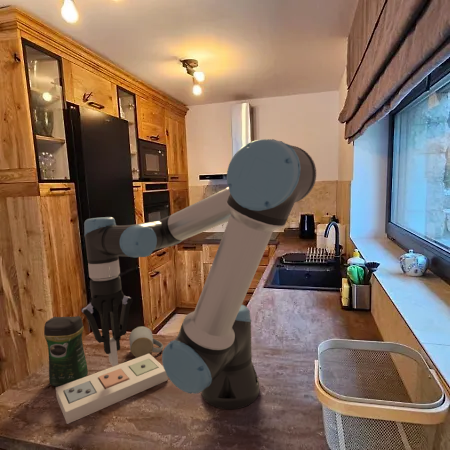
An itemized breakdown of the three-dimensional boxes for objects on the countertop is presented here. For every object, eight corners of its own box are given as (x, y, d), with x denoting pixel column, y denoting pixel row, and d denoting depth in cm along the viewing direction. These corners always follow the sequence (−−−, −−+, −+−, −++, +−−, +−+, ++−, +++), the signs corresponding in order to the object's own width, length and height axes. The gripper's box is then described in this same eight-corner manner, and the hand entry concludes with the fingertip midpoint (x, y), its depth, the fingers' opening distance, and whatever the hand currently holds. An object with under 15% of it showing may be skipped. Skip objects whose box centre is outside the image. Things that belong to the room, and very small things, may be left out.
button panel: (167, 380, 90) (167, 369, 89) (66, 424, 74) (65, 412, 74) (149, 362, 99) (149, 353, 99) (56, 398, 83) (55, 387, 83)
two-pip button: (129, 388, 86) (128, 377, 86) (106, 397, 82) (105, 386, 82) (121, 378, 91) (120, 367, 90) (99, 386, 87) (98, 375, 87)
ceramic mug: (130, 361, 100) (129, 338, 99) (129, 349, 108) (128, 327, 107) (164, 355, 103) (163, 332, 103) (161, 344, 111) (160, 323, 110)
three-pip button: (96, 402, 81) (95, 390, 80) (70, 413, 77) (69, 401, 77) (89, 391, 86) (88, 380, 85) (65, 401, 82) (64, 389, 82)
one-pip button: (158, 376, 91) (157, 366, 91) (138, 385, 88) (137, 374, 87) (149, 368, 96) (148, 357, 95) (129, 375, 92) (129, 365, 92)
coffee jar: (92, 371, 95) (86, 311, 93) (78, 388, 87) (72, 323, 85) (60, 371, 96) (54, 312, 94) (44, 388, 88) (37, 323, 86)
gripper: (124, 269, 90) (131, 349, 92) (74, 279, 82) (84, 366, 84) (134, 274, 84) (142, 359, 86) (82, 285, 76) (92, 378, 78)
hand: (113, 363), depth 85 cm, fingers closed
